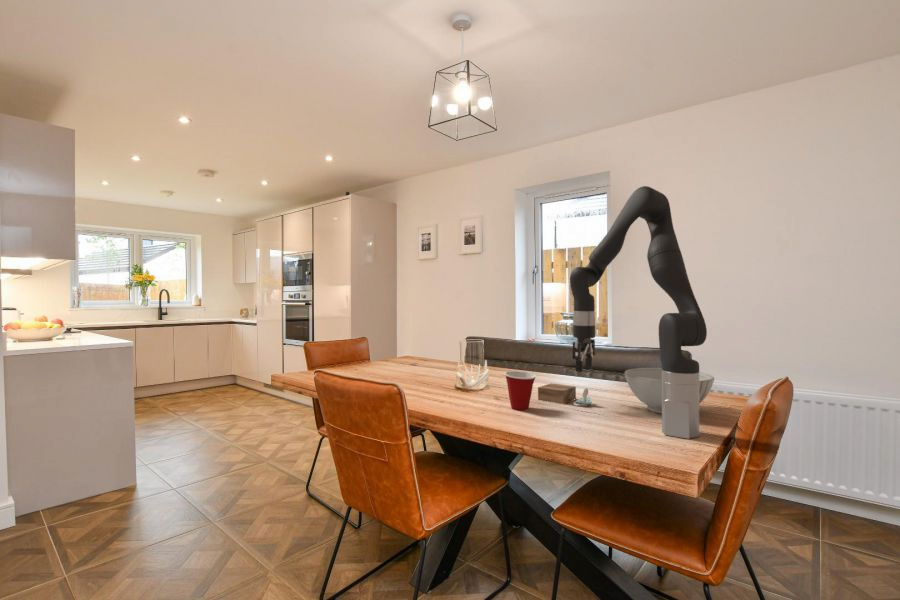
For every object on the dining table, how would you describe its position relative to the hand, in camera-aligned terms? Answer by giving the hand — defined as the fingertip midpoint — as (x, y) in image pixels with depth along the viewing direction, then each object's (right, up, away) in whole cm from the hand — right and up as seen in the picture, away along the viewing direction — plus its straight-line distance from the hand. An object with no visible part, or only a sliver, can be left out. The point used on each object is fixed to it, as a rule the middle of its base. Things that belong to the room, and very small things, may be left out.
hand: (584, 370), depth 158 cm
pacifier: (-1, -13, 0) cm, 13 cm away
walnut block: (-8, -13, +8) cm, 17 cm away
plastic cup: (-23, -13, -5) cm, 27 cm away
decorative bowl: (+26, -12, -8) cm, 30 cm away
